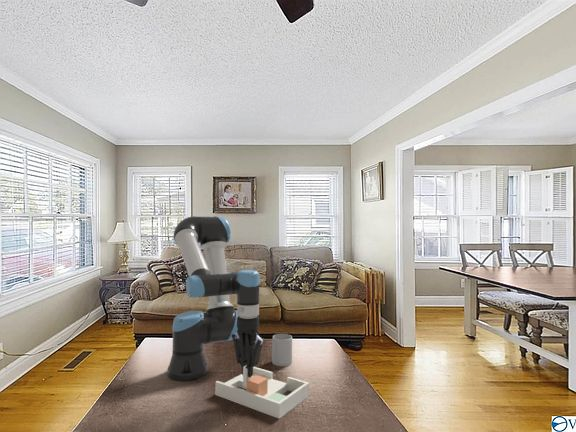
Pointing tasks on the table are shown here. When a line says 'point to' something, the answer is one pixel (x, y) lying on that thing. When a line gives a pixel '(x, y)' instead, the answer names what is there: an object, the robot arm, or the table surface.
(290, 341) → the mug
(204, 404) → the table surface
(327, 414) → the table surface
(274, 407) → the box
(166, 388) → the table surface
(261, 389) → the block
